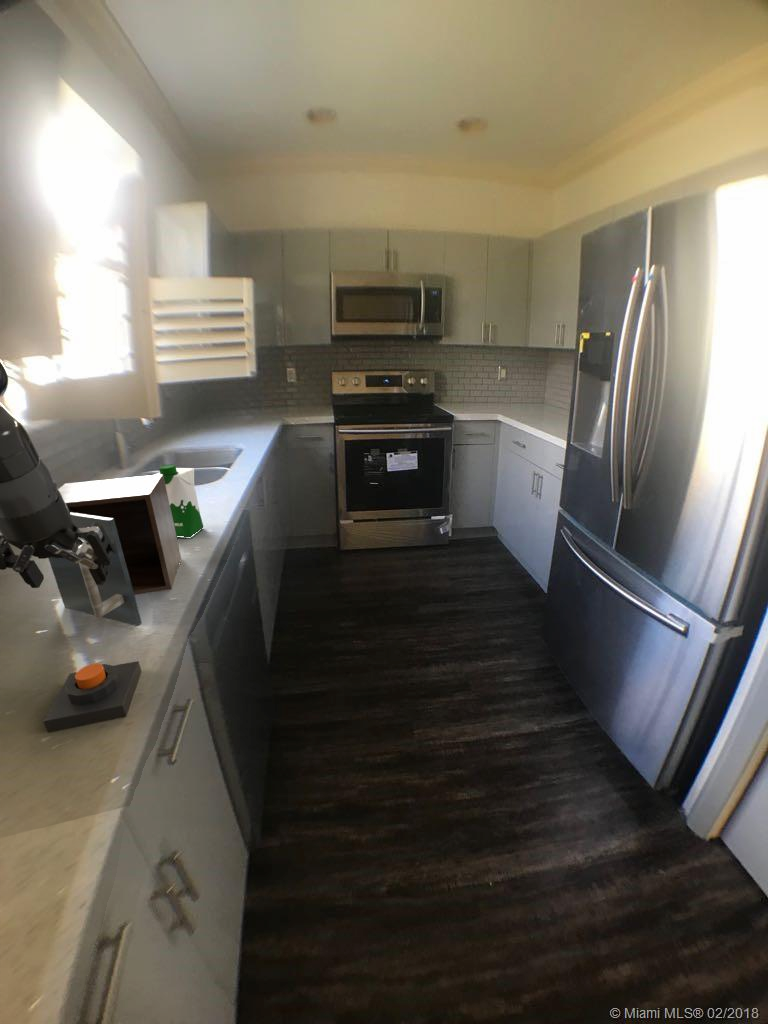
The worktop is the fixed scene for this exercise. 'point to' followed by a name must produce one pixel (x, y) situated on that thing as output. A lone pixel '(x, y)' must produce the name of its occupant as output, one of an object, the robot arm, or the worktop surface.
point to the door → (81, 587)
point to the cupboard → (134, 525)
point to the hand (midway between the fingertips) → (71, 581)
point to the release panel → (94, 699)
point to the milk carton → (182, 499)
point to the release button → (90, 676)
